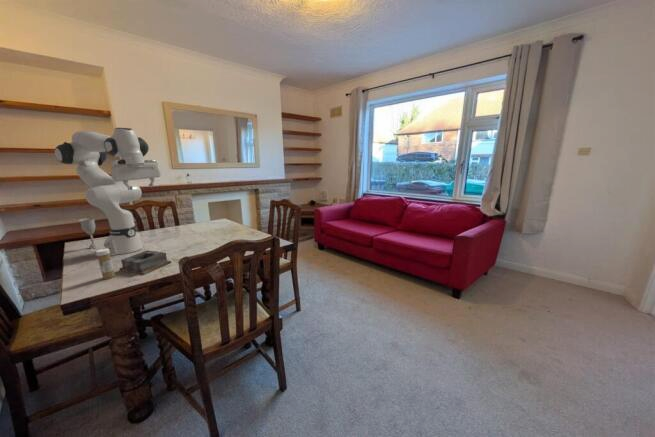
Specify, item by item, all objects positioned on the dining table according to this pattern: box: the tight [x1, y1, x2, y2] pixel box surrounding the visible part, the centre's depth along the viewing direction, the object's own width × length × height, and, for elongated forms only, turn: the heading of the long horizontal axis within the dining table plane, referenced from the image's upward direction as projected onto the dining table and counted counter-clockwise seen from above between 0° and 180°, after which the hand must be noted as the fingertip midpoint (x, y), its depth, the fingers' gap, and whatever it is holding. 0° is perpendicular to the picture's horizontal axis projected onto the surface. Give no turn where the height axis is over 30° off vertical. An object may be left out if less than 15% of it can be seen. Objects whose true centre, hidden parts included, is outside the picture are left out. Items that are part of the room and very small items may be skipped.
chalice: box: [78, 217, 100, 249], centre depth 153 cm, size 7×7×18 cm
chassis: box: [119, 249, 172, 276], centre depth 125 cm, size 17×14×6 cm
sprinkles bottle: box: [95, 247, 116, 280], centre depth 114 cm, size 5×5×14 cm
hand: (141, 188), depth 129 cm, fingers open, 8 cm apart
